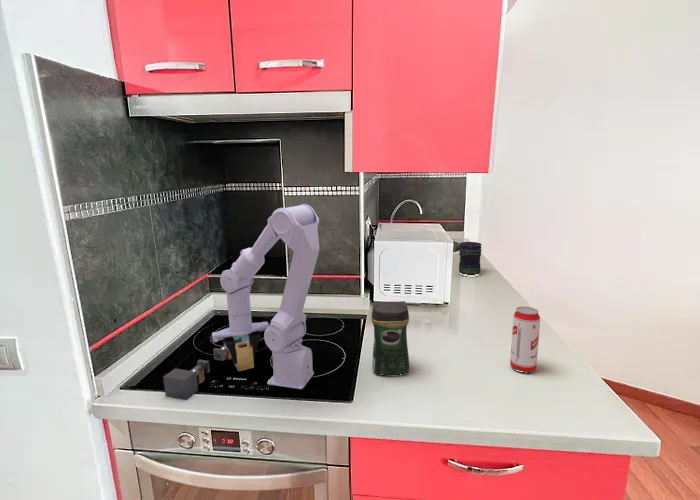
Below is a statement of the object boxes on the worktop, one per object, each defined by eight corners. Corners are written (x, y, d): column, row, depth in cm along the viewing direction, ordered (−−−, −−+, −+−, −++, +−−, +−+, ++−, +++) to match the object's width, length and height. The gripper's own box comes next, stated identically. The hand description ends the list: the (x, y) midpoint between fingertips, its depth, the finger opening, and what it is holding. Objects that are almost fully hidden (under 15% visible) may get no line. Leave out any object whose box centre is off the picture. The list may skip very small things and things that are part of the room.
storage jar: (466, 270, 196) (467, 240, 193) (484, 274, 189) (485, 243, 186) (454, 274, 190) (455, 243, 187) (472, 278, 183) (473, 246, 180)
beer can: (537, 366, 104) (542, 308, 101) (534, 377, 99) (539, 316, 96) (511, 360, 108) (515, 304, 104) (507, 371, 102) (511, 312, 99)
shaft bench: (249, 347, 119) (248, 331, 118) (186, 399, 93) (184, 380, 92) (232, 344, 121) (230, 329, 120) (165, 395, 95) (163, 376, 93)
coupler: (250, 360, 111) (248, 340, 109) (254, 367, 107) (252, 346, 106) (234, 364, 109) (232, 343, 107) (238, 371, 105) (236, 350, 104)
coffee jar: (407, 362, 108) (408, 296, 104) (410, 377, 100) (411, 307, 96) (371, 362, 109) (371, 297, 105) (371, 377, 101) (371, 307, 97)
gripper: (262, 303, 111) (265, 348, 114) (208, 313, 105) (213, 360, 108) (270, 310, 105) (273, 358, 108) (213, 322, 99) (218, 372, 102)
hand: (243, 360), depth 108 cm, fingers closed on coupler, 4 cm apart
